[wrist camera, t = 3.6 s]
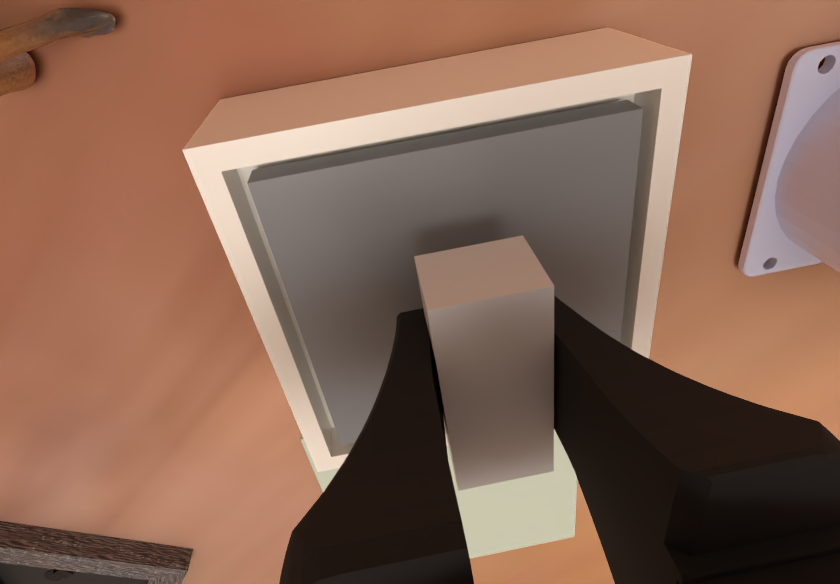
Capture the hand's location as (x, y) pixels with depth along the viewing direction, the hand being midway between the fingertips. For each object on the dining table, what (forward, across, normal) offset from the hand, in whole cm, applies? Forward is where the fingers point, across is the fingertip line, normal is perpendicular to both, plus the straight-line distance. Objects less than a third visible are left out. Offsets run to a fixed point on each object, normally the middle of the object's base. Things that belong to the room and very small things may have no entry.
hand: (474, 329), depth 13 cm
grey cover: (+2, 0, 0) cm, 2 cm away
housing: (+5, 0, 0) cm, 5 cm away
